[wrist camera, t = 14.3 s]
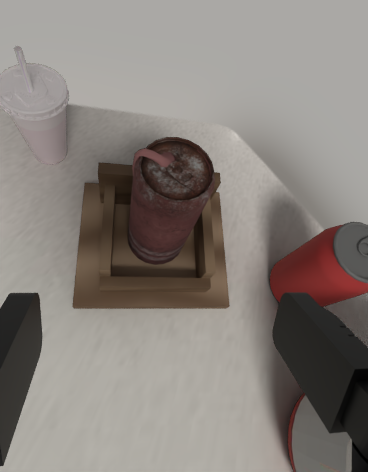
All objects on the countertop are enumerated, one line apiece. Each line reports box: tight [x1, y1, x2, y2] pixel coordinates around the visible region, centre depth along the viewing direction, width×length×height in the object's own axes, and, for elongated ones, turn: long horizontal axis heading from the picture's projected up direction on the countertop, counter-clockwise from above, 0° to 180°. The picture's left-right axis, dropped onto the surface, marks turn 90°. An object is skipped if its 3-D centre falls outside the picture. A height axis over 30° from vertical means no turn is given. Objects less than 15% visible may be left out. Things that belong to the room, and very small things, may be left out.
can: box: [128, 137, 215, 265], centre depth 29 cm, size 6×6×14 cm
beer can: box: [270, 222, 368, 307], centre depth 32 cm, size 7×7×12 cm
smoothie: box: [0, 46, 69, 164], centre depth 32 cm, size 6×6×14 cm
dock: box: [73, 163, 229, 308], centre depth 33 cm, size 14×16×7 cm
